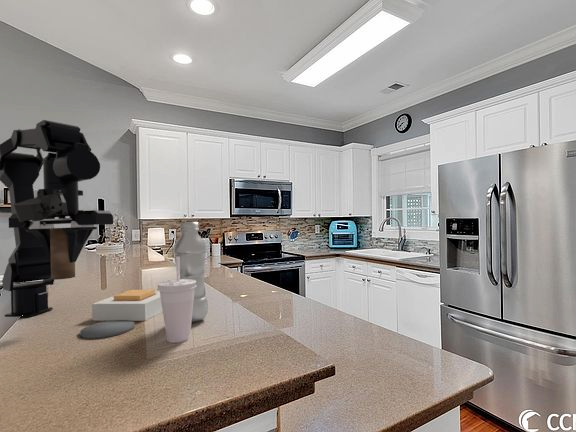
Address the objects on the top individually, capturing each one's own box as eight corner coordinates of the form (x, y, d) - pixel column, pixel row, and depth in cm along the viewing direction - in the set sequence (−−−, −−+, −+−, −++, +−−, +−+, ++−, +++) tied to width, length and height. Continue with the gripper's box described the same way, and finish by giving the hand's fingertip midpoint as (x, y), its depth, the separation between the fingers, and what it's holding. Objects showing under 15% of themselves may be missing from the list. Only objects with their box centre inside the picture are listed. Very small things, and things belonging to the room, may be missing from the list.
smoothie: (203, 332, 59) (201, 254, 59) (189, 345, 53) (186, 258, 53) (169, 332, 60) (167, 255, 60) (151, 345, 53) (149, 259, 54)
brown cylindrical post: (45, 279, 64) (44, 228, 64) (62, 276, 68) (61, 228, 68) (64, 279, 63) (63, 227, 64) (80, 276, 67) (78, 227, 68)
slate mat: (68, 338, 58) (68, 335, 58) (102, 322, 67) (102, 319, 67) (114, 338, 57) (114, 335, 57) (143, 322, 66) (143, 319, 66)
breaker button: (113, 300, 72) (113, 295, 72) (130, 294, 78) (130, 289, 78) (140, 300, 71) (140, 295, 71) (155, 293, 77) (155, 289, 77)
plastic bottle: (167, 324, 64) (164, 223, 65) (189, 315, 71) (187, 222, 71) (194, 327, 62) (191, 222, 62) (215, 317, 68) (212, 221, 69)
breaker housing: (92, 320, 69) (92, 303, 69) (127, 305, 81) (126, 291, 81) (145, 320, 68) (145, 303, 68) (173, 305, 80) (172, 291, 80)
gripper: (-22, 182, 59) (-21, 269, 59) (72, 177, 57) (74, 267, 57) (33, 188, 70) (35, 261, 70) (114, 184, 68) (116, 259, 68)
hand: (63, 262), depth 66 cm, fingers closed on brown cylindrical post, 4 cm apart
